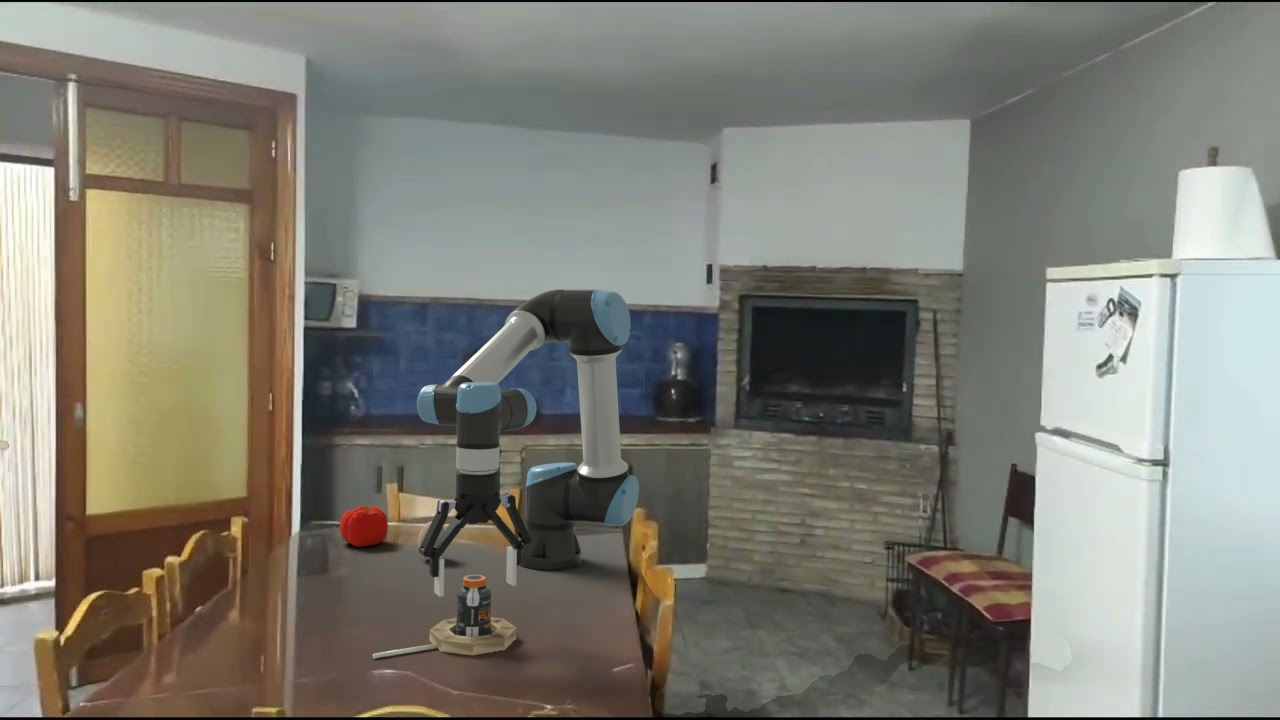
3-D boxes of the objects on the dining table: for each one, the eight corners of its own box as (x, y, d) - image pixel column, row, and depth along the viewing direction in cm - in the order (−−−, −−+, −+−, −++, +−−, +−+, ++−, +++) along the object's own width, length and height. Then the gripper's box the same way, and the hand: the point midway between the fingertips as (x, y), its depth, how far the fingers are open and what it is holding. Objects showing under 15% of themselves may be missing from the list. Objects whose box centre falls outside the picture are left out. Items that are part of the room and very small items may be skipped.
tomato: (350, 538, 238) (351, 502, 237) (395, 541, 236) (396, 505, 236) (330, 548, 227) (331, 511, 227) (378, 551, 225) (378, 514, 225)
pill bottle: (482, 647, 163) (484, 583, 162) (450, 644, 164) (452, 580, 163) (494, 636, 169) (496, 574, 168) (463, 632, 170) (465, 571, 169)
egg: (451, 561, 218) (451, 522, 218) (423, 565, 215) (424, 525, 214) (440, 555, 224) (440, 517, 223) (413, 558, 220) (414, 519, 220)
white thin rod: (436, 647, 162) (436, 642, 162) (438, 648, 161) (438, 644, 161) (372, 657, 156) (372, 653, 156) (374, 659, 155) (374, 654, 155)
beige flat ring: (494, 622, 176) (494, 612, 176) (526, 646, 164) (526, 635, 164) (421, 634, 168) (421, 623, 168) (449, 659, 157) (449, 647, 156)
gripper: (532, 462, 175) (530, 574, 176) (401, 472, 161) (400, 593, 163) (550, 468, 168) (548, 584, 170) (415, 479, 155) (414, 605, 156)
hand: (475, 589), depth 166 cm, fingers open, 13 cm apart
